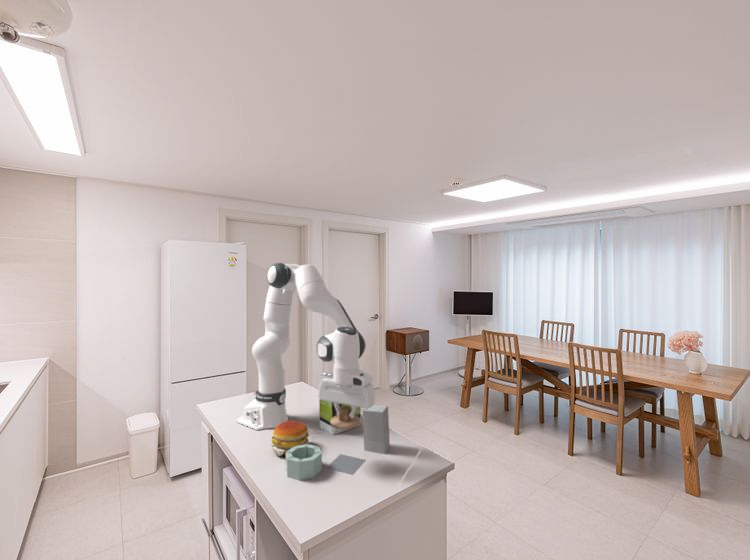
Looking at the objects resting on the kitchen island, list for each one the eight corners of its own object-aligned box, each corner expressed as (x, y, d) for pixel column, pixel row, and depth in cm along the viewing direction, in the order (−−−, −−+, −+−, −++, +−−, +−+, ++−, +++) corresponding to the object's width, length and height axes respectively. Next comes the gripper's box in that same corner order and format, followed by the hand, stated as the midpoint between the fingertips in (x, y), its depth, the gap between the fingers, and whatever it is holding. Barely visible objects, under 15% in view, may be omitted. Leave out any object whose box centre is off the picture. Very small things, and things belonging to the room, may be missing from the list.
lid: (324, 425, 115) (325, 410, 115) (339, 415, 124) (340, 401, 124) (351, 431, 111) (351, 415, 111) (365, 420, 120) (365, 405, 120)
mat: (325, 469, 115) (325, 467, 115) (340, 455, 124) (340, 454, 124) (352, 475, 111) (352, 474, 111) (365, 461, 120) (365, 459, 120)
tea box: (347, 419, 157) (347, 386, 157) (361, 426, 149) (361, 391, 149) (318, 428, 147) (318, 393, 147) (332, 436, 140) (332, 399, 140)
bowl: (279, 475, 111) (279, 456, 111) (299, 459, 121) (299, 442, 121) (307, 483, 106) (308, 464, 107) (326, 466, 117) (327, 448, 117)
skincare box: (389, 447, 130) (390, 405, 130) (384, 456, 124) (384, 411, 124) (368, 443, 133) (368, 402, 133) (361, 452, 126) (362, 408, 126)
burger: (315, 445, 132) (315, 418, 132) (294, 462, 119) (294, 433, 119) (286, 438, 137) (286, 413, 137) (263, 454, 124) (263, 426, 124)
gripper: (315, 374, 119) (314, 414, 119) (369, 382, 111) (368, 425, 111) (325, 370, 125) (324, 408, 125) (377, 377, 116) (376, 418, 116)
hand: (345, 416), depth 118 cm, fingers closed on lid, 3 cm apart
